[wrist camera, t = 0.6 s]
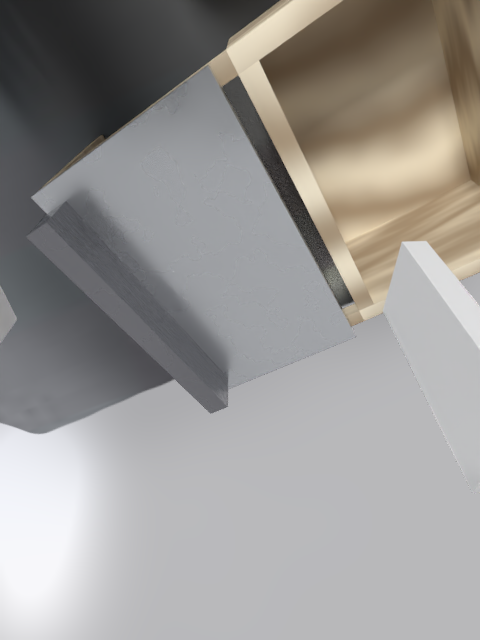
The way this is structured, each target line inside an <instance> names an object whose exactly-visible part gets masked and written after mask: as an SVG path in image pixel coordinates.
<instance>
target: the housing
mask: <svg viewBox="0 0 480 640" xmlns="http://www.w3.org/2000/svg"><path fill="white" fill-rule="evenodd" d="M208 64H210V66H211V68H212V70H213V72H214V73H215V75H216V77H217V79H218V81H219V83H220V84H221V86H224V85H225V84H226V83H228V82H229V81H231V80H232V79H233V78H235V77H236V76H238V75H239V77H240V79H241V81H242V83H243V85H244V87H245V89H246V90H247V92H248V94H249V96H250V98H251V100H252V102H253V104H254V106H255V108H256V110H257V112H258V114H259V116H260V118H261V120H262V122H263V124H264V126H265V128H266V130H267V132H268V134H269V135H270V137H271V139H272V141H273V143H274V145H275V147H276V149H277V151H278V153H279V155H280V157H281V159H282V161H283V163H284V165H285V167H286V169H287V171H288V173H289V175H290V177H291V179H292V180H293V182H294V184H295V186H296V188H297V190H298V192H299V194H300V196H301V198H302V200H303V202H304V204H305V206H306V208H307V210H308V212H309V214H310V216H311V218H312V220H313V222H314V224H315V225H316V227H317V229H318V231H319V233H320V235H321V237H322V239H323V241H324V243H325V245H326V247H327V249H328V251H329V253H330V255H331V257H332V259H333V261H334V263H335V265H336V267H337V269H338V271H339V272H340V274H341V276H342V278H343V280H344V282H345V284H346V286H347V288H348V290H349V292H350V294H351V296H352V298H353V300H354V302H355V304H353V305H350V306H348V307H346V308H343V311H344V313H345V314H346V316H347V318H348V320H349V322H350V324H351V325H352V326H353V325H356V324H358V323H360V322H363V321H366V320H368V319H370V318H373V317H375V316H377V315H380V314H382V313H383V308H384V304H385V301H386V297H387V293H388V290H389V286H390V283H391V279H392V275H393V272H394V268H395V265H396V261H397V257H398V254H399V250H400V247H401V243H402V242H406V241H427V242H428V244H429V245H430V246H431V247H432V248H433V250H434V251H435V252H436V253H437V255H438V256H439V257H440V258H441V259H442V261H443V262H444V263H445V264H446V265H447V267H448V268H449V269H450V270H451V271H452V273H453V274H454V275H455V276H456V278H457V279H458V280H459V281H460V280H463V279H465V278H468V277H470V276H472V275H475V274H477V273H479V272H480V0H280V1H278V2H277V3H276V4H274V5H273V6H272V7H270V8H269V9H268V10H267V11H265V12H264V13H263V14H261V15H260V16H259V17H257V18H256V19H255V20H253V21H252V22H251V23H249V24H248V25H247V26H245V27H244V28H243V29H241V30H240V31H239V32H237V33H236V34H235V35H233V36H232V37H231V38H229V41H228V45H227V49H226V50H225V51H223V52H222V53H221V54H219V55H218V56H217V57H215V58H214V59H213V60H211V61H210V62H208V63H207V64H206V65H204V66H203V67H202V68H200V69H199V70H198V71H196V72H195V73H194V74H196V73H197V72H199V71H200V70H201V69H203V68H204V67H205V66H207V65H208ZM194 74H192V75H191V76H190V77H192V76H193V75H194ZM190 77H188V78H187V79H186V80H188V79H189V78H190ZM186 80H184V81H183V82H182V83H184V82H185V81H186ZM182 83H180V84H179V85H178V86H180V85H181V84H182ZM178 86H176V87H175V88H174V89H176V88H177V87H178ZM174 89H172V90H171V91H170V92H172V91H173V90H174ZM170 92H168V93H167V94H166V95H168V94H169V93H170ZM166 95H164V96H163V97H162V98H164V97H165V96H166ZM162 98H160V99H159V100H158V101H160V100H161V99H162ZM158 101H156V102H155V103H154V104H156V103H157V102H158ZM154 104H152V105H151V106H150V107H152V106H153V105H154ZM150 107H148V108H147V109H149V108H150ZM147 109H146V110H147ZM146 110H144V111H143V112H145V111H146ZM143 112H141V113H140V114H139V115H141V114H142V113H143ZM139 115H137V116H136V117H135V118H137V117H138V116H139ZM135 118H133V119H132V120H131V121H133V120H134V119H135ZM131 121H129V122H128V123H127V124H129V123H130V122H131ZM127 124H125V125H124V126H123V127H125V126H126V125H127ZM123 127H121V128H120V129H119V130H121V129H122V128H123ZM119 130H117V131H116V132H115V133H117V132H118V131H119ZM115 133H113V134H112V135H111V136H113V135H114V134H115ZM111 136H109V137H108V138H107V139H109V138H110V137H111ZM107 139H105V138H104V136H103V135H101V136H99V137H98V138H97V139H96V140H94V141H93V142H92V143H90V144H89V145H88V146H87V147H86V148H85V149H84V150H83V151H82V152H80V153H79V154H78V155H77V156H76V157H75V158H74V159H73V160H72V161H70V162H69V163H68V164H67V165H66V166H65V167H64V168H63V169H62V170H61V171H59V172H58V173H57V174H56V175H55V176H54V177H53V178H52V179H51V180H49V181H48V182H47V183H46V184H45V185H47V184H48V183H49V182H51V181H52V180H53V179H55V178H56V177H58V176H59V175H60V174H62V173H63V172H64V171H66V170H67V169H68V168H70V167H71V166H72V165H74V164H75V163H76V162H78V161H79V160H80V159H82V158H83V157H84V156H86V155H87V154H88V153H90V152H91V151H92V150H94V149H95V148H96V147H98V146H99V145H100V144H102V143H103V142H105V141H106V140H107ZM45 185H44V186H45ZM44 186H43V187H44ZM43 187H42V188H43ZM39 190H40V189H39Z"/></svg>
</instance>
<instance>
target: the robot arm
mask: <svg viewBox="0 0 480 640" xmlns="http://www.w3.org/2000/svg"><path fill="white" fill-rule="evenodd" d="M383 313H384V315H385V317H386V319H387V321H388V323H389V325H390V327H391V329H392V331H393V333H394V335H395V337H396V339H397V341H398V343H399V345H400V347H401V349H402V351H403V353H404V355H405V357H406V360H407V362H408V364H409V366H410V368H411V370H412V372H413V374H414V376H415V378H416V380H417V382H418V384H419V386H420V388H421V390H422V392H423V394H424V396H425V398H426V400H427V402H428V404H429V406H430V408H431V410H432V412H433V414H434V416H435V418H436V420H437V422H438V424H439V427H440V428H441V431H442V433H443V434H444V437H445V439H446V441H447V443H448V445H449V447H450V449H451V451H452V453H453V454H454V457H455V459H456V461H457V463H458V465H459V467H460V469H461V471H462V473H463V475H464V477H465V479H466V481H467V484H468V486H469V488H470V490H471V491H472V493H480V305H479V304H478V303H477V302H476V301H475V300H474V298H473V297H472V296H471V294H470V293H469V292H468V291H467V290H466V288H465V287H464V286H463V285H462V284H461V282H460V281H459V280H458V279H457V278H456V276H455V275H454V274H453V273H452V271H451V270H450V269H449V268H448V267H447V265H446V264H445V263H444V262H443V261H442V259H441V258H440V257H439V256H438V255H437V253H436V252H435V251H434V250H433V248H432V247H431V246H430V245H429V244H428V242H427V241H406V242H402V243H401V247H400V250H399V254H398V257H397V261H396V265H395V268H394V272H393V275H392V279H391V283H390V286H389V290H388V293H387V297H386V301H385V304H384V308H383ZM16 320H17V318H16V316H15V314H14V312H13V310H12V308H11V306H10V304H9V302H8V300H7V298H6V296H5V294H4V292H3V290H2V288H1V286H0V344H1V342H2V341H3V339H4V338H5V336H6V335H7V333H8V332H9V330H10V329H11V328H12V326H13V325H14V323H15V322H16Z"/></svg>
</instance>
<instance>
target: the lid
mask: <svg viewBox="0 0 480 640" xmlns="http://www.w3.org/2000/svg"><path fill="white" fill-rule="evenodd" d="M31 198H32V199H33V200H34V201H35V202H36V203H37V204H38V205H39V206H40V207H41V208H42V209H43V210H44V211H45V212H46V213H47V215H46V216H45V217H44V218H43V219H42V220H41V221H40V222H39V223H38V224H37V225H36V226H35V228H34V229H33V230H32V231H31V232H30V233H29V234H28V235H27V236H26V238H27V239H28V240H30V241H31V242H32V243H33V244H34V245H35V246H36V247H37V248H38V249H39V250H40V251H41V252H42V253H43V254H44V255H45V256H46V257H47V258H48V259H49V260H50V261H52V262H53V263H54V264H55V265H56V266H57V267H58V268H59V269H60V270H61V271H62V272H63V273H64V274H65V275H66V276H67V277H68V278H69V279H70V280H71V281H72V282H74V283H75V284H76V285H77V286H78V287H79V288H80V289H81V290H82V291H83V292H84V293H85V294H86V295H87V296H88V297H89V298H90V299H91V300H92V301H93V302H94V303H95V304H97V305H98V306H99V307H100V308H101V309H102V310H103V311H104V312H105V313H106V314H107V315H108V316H109V317H110V318H111V319H112V320H113V321H114V322H115V323H116V324H117V325H119V326H120V327H121V328H122V329H123V330H124V331H125V332H126V333H127V334H128V335H129V336H130V337H131V338H132V339H133V340H134V341H135V342H136V343H137V344H138V345H139V346H141V347H142V348H143V349H144V350H145V351H146V352H147V353H148V354H149V355H150V356H151V357H152V358H153V359H154V360H155V361H156V362H157V363H158V364H159V365H160V366H161V367H162V368H164V369H165V370H166V371H167V372H168V373H169V374H170V375H171V376H172V377H173V378H174V379H175V380H176V381H177V382H178V383H179V384H180V385H181V386H182V387H184V389H186V390H187V391H188V392H189V393H190V394H191V395H192V396H193V397H194V398H195V399H196V400H197V401H198V402H199V403H200V404H201V405H202V406H203V407H204V408H205V409H206V410H208V411H209V412H210V413H213V412H216V411H218V410H221V409H223V408H226V407H228V389H230V388H233V387H235V386H237V385H240V384H242V383H245V382H247V381H250V380H252V379H255V378H257V377H259V376H262V375H265V374H267V373H269V372H272V371H274V370H277V369H279V368H281V367H284V366H286V365H289V364H291V363H294V362H296V361H299V360H301V359H304V358H306V357H308V356H311V355H313V354H316V353H318V352H321V351H323V350H325V349H328V348H330V347H333V346H335V345H338V344H340V343H342V342H345V341H347V340H350V339H352V338H355V337H356V335H355V332H354V329H353V328H352V325H351V324H350V322H349V320H348V318H347V316H346V314H345V313H344V311H343V309H342V307H341V305H340V303H339V302H338V300H337V298H336V296H335V294H334V292H333V290H332V289H331V287H330V285H329V283H328V281H327V279H326V278H325V276H324V274H323V272H322V270H321V268H320V267H319V265H318V263H317V261H316V259H315V257H314V256H313V254H312V252H311V250H310V248H309V246H308V244H307V243H306V241H305V239H304V237H303V235H302V233H301V232H300V230H299V228H298V226H297V224H296V222H295V221H294V219H293V217H292V215H291V213H290V211H289V210H288V208H287V206H286V204H285V202H284V200H283V199H282V197H281V195H280V193H279V191H278V189H277V187H276V186H275V184H274V182H273V180H272V178H271V176H270V175H269V173H268V171H267V169H266V167H265V165H264V164H263V162H262V160H261V158H260V156H259V154H258V153H257V151H256V149H255V147H254V145H253V143H252V141H251V140H250V138H249V136H248V134H247V132H246V130H245V129H244V127H243V125H242V123H241V121H240V119H239V118H238V116H237V114H236V112H235V110H234V108H233V107H232V105H231V103H230V101H229V99H228V97H227V95H226V94H225V92H224V90H223V88H222V86H221V84H220V83H219V81H218V79H217V77H216V75H215V73H214V72H213V70H212V68H211V66H210V64H208V65H207V66H205V67H204V68H203V69H201V70H200V71H199V72H197V73H196V74H194V75H193V76H192V77H190V78H189V79H188V80H186V81H185V82H184V83H182V84H181V85H180V86H178V87H177V88H176V89H174V90H173V91H172V92H170V93H169V94H168V95H166V96H165V97H164V98H162V99H161V100H160V101H158V102H157V103H156V104H154V105H153V106H152V107H150V108H149V109H147V110H146V111H145V112H143V113H142V114H141V115H139V116H138V117H137V118H135V119H134V120H133V121H131V122H130V123H129V124H127V125H126V126H125V127H123V128H122V129H121V130H119V131H118V132H117V133H115V134H114V135H113V136H111V137H110V138H109V139H107V140H106V141H105V142H103V143H102V144H100V145H99V146H98V147H96V148H95V149H94V150H92V151H91V152H90V153H88V154H87V155H86V156H84V157H83V158H82V159H80V160H79V161H78V162H76V163H75V164H74V165H72V166H71V167H70V168H68V169H67V170H66V171H64V172H63V173H62V174H60V175H59V176H58V177H56V178H55V179H53V180H52V181H51V182H49V183H48V184H47V185H45V186H44V187H43V188H41V189H40V190H39V191H37V192H36V193H35V194H34V195H33V196H32V197H31Z"/></svg>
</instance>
